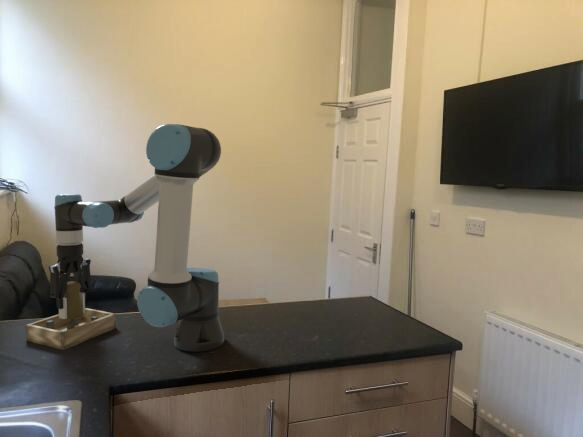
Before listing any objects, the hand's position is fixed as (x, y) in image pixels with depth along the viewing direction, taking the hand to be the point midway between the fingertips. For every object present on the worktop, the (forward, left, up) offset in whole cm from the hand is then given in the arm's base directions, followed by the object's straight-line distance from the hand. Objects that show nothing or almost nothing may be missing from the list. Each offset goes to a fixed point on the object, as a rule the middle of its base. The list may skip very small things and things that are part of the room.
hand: (72, 314), depth 140 cm
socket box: (0, 0, -6) cm, 6 cm away
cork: (0, 0, 0) cm, 1 cm away
